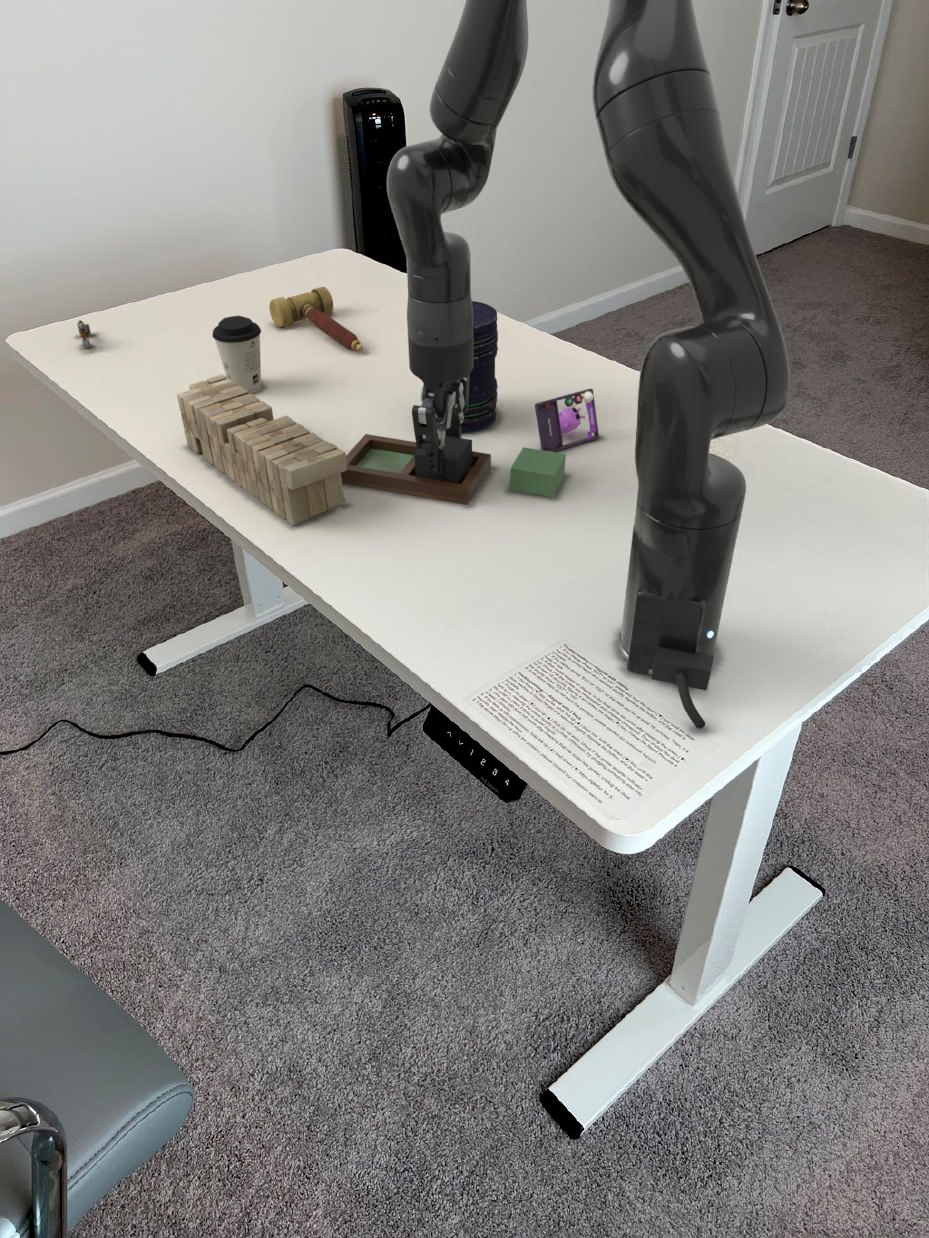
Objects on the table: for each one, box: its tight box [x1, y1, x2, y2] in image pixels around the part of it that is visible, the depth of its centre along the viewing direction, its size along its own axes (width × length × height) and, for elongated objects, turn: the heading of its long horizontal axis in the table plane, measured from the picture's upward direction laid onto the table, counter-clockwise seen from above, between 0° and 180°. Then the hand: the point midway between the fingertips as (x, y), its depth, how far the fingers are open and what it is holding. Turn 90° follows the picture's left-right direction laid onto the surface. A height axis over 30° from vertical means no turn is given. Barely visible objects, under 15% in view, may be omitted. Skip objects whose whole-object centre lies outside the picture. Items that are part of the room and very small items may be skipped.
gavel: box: [269, 286, 364, 352], centre depth 158 cm, size 21×5×10 cm
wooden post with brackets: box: [76, 320, 92, 351], centre depth 156 cm, size 2×8×4 cm, turn 20°
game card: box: [534, 388, 600, 452], centre depth 129 cm, size 7×5×9 cm
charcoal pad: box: [415, 436, 473, 483], centre depth 120 cm, size 6×6×3 cm
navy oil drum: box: [436, 300, 499, 435], centre depth 131 cm, size 10×10×15 cm
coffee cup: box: [212, 315, 262, 394], centre depth 141 cm, size 7×7×10 cm
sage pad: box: [509, 447, 567, 498], centre depth 120 cm, size 6×6×3 cm
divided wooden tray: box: [341, 433, 492, 506], centre depth 123 cm, size 9×18×2 cm, turn 71°
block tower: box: [176, 374, 347, 526], centre depth 122 cm, size 8×8×29 cm
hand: (444, 461), depth 120 cm, fingers closed on charcoal pad, 5 cm apart
